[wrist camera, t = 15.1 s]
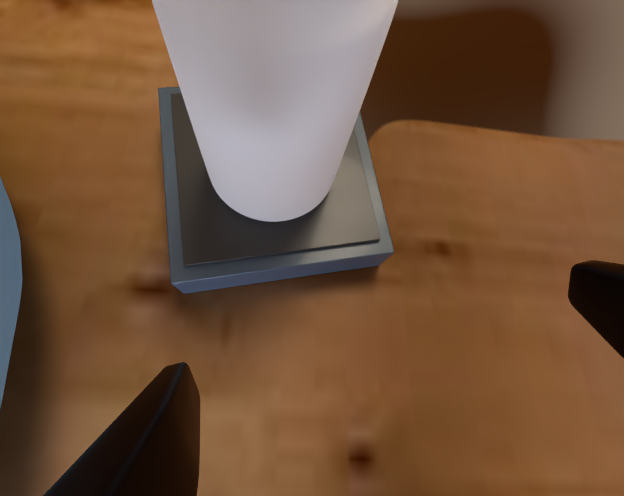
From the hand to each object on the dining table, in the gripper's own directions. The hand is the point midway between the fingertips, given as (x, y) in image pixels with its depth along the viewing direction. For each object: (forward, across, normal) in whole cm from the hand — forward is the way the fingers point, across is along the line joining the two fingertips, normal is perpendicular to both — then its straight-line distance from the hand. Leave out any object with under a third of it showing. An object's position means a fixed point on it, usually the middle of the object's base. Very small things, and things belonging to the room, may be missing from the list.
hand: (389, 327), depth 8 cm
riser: (+15, +2, 0) cm, 15 cm away
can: (+13, +2, -2) cm, 13 cm away
